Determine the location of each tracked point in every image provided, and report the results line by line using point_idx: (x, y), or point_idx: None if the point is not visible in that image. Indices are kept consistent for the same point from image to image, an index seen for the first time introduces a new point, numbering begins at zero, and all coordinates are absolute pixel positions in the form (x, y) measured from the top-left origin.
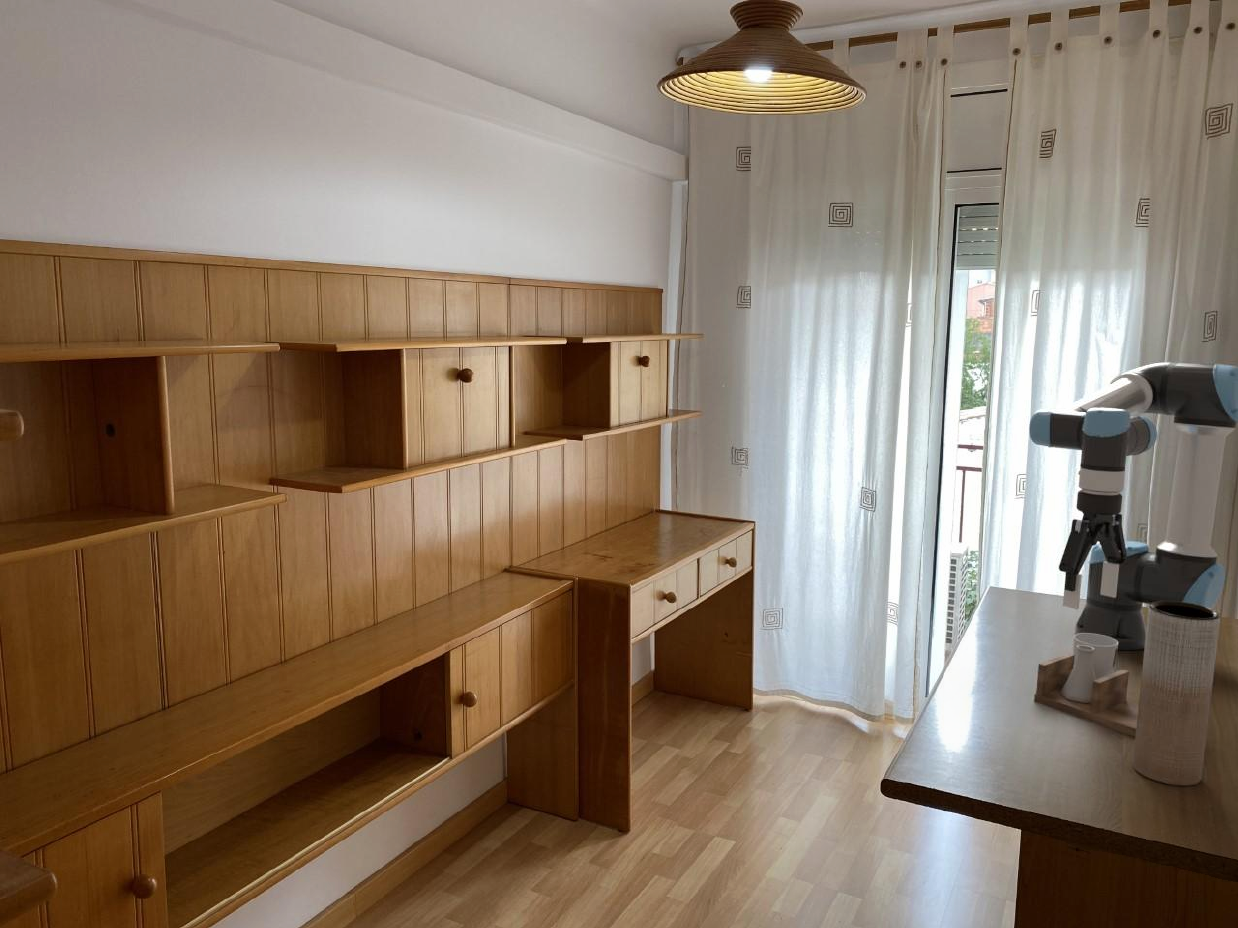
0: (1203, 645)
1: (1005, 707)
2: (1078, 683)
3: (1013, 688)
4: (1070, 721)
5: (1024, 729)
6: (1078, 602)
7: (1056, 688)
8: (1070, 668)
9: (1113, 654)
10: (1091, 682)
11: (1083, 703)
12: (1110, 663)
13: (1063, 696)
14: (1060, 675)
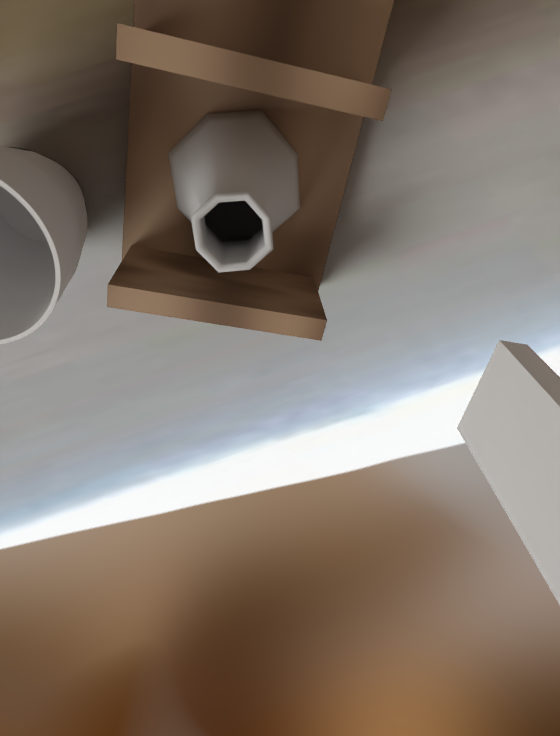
0: None
1: (412, 324)
2: (283, 194)
3: (254, 360)
4: (405, 150)
5: (546, 231)
6: (535, 368)
7: None
8: (142, 269)
9: None
10: (259, 153)
11: None
12: (9, 154)
13: None
14: (210, 276)
